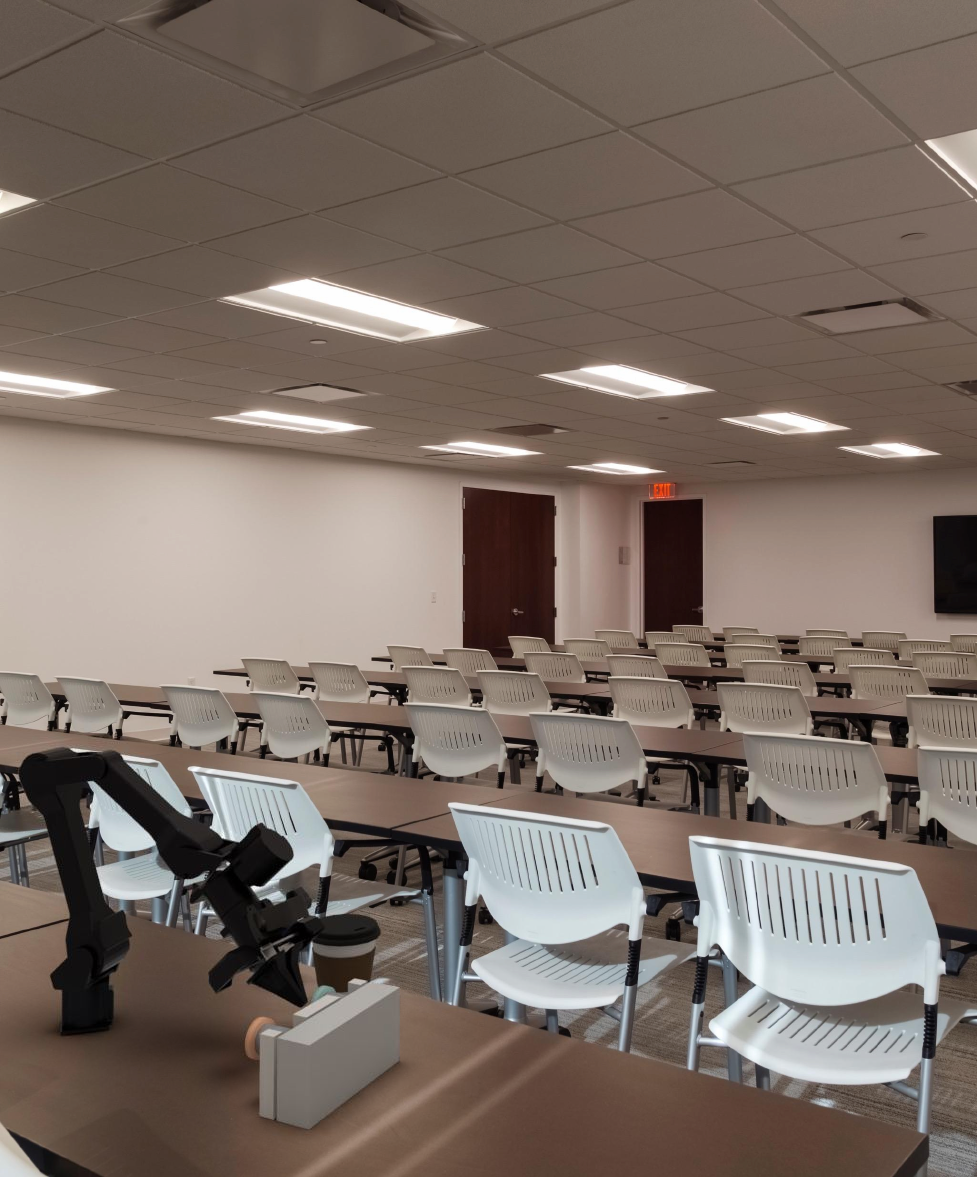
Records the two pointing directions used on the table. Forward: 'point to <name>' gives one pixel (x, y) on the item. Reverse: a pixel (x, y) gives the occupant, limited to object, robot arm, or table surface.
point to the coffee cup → (345, 950)
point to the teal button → (325, 993)
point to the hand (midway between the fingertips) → (304, 1005)
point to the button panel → (329, 1053)
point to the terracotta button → (254, 1035)
